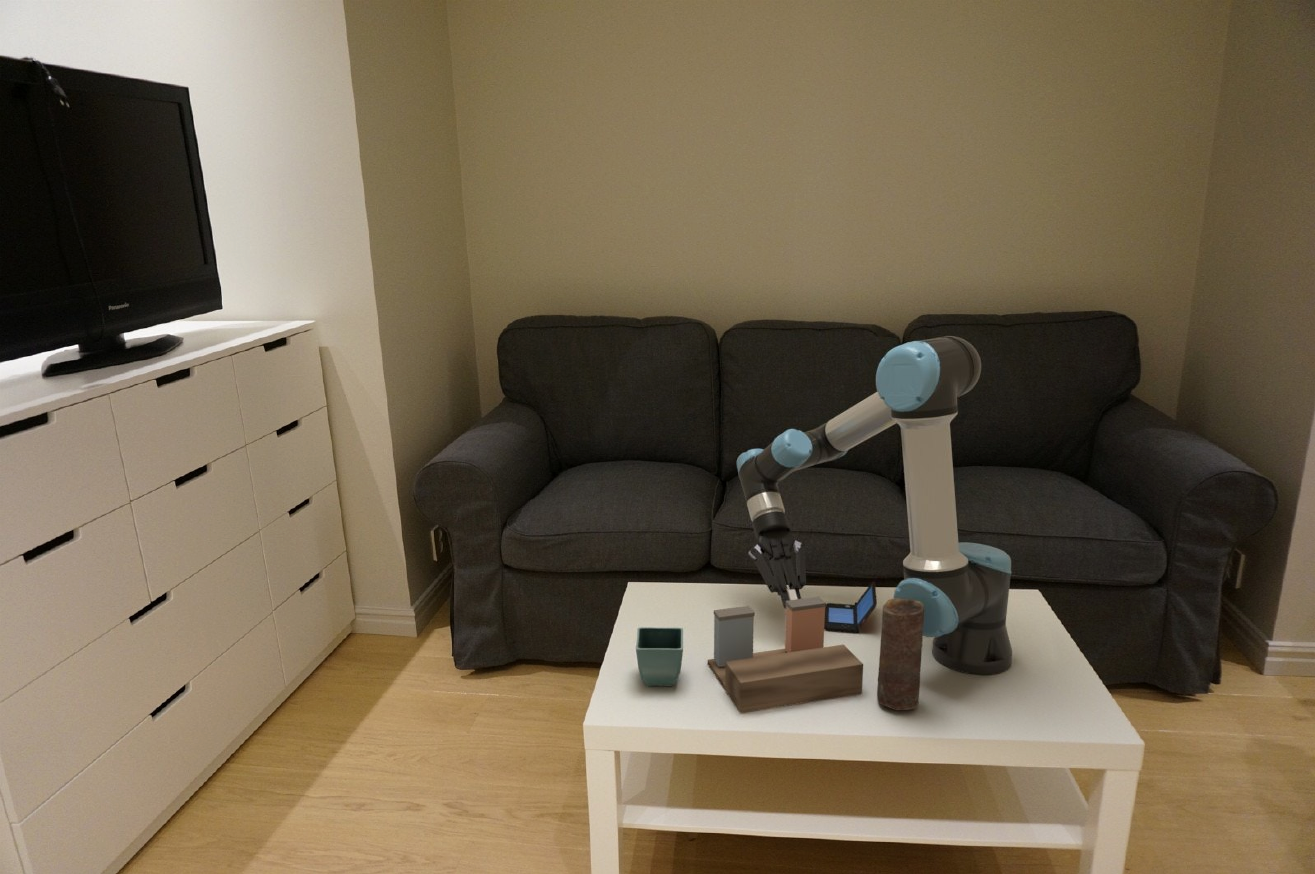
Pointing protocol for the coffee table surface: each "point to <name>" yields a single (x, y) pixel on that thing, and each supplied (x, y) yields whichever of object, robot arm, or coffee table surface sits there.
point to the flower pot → (659, 655)
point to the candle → (900, 654)
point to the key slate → (733, 634)
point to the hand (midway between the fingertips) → (797, 622)
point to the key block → (790, 677)
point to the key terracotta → (804, 624)
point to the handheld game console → (850, 613)
